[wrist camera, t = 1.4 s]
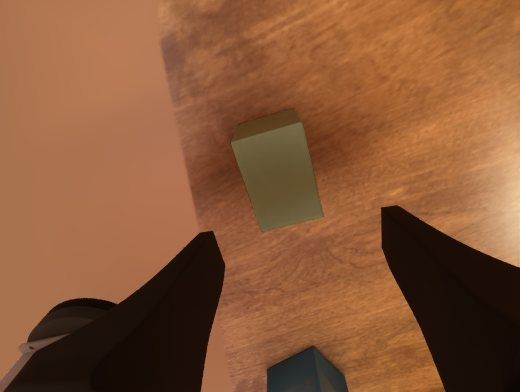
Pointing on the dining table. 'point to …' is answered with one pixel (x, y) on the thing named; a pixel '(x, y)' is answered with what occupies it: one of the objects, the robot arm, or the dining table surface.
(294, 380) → the perfume bottle
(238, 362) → the dining table surface
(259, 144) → the olive boxy piece
